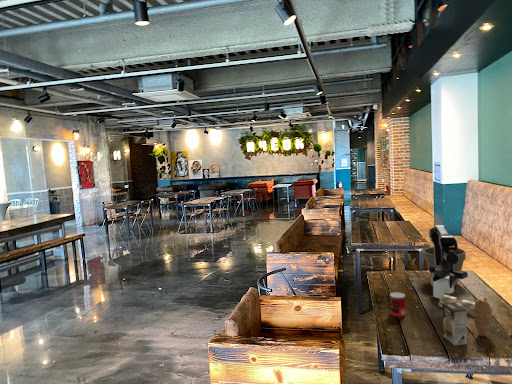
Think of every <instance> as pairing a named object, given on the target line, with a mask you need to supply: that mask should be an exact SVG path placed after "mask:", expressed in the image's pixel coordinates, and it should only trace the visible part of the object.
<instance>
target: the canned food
mask: <svg viewBox="0 0 512 384" xmlns="http://www.w3.org/2000/svg"><path fill="white" fill-rule="evenodd" d="M389 305H390V306H389V307H390V309H389V310H390V315H391V316H392V317H395V318H404V317H406V314H407V313H406V312H407V311H406V295H405V293H402V292H399V291H395V292H391V293H389Z"/></svg>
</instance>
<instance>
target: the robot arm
mask: <svg viewBox="0 0 512 384" xmlns="http://www.w3.org/2000/svg"><path fill="white" fill-rule="evenodd" d="M428 237H429V239H430V242H431V244H432V245H433V247H434V260H435V265H433V266H430V267H429V270H428V273H429V272H433V277H432V278H431V277H430V278H431V279H430V285H431V286H432V288H433V282H435V281H437V280H440V279H442V278H445V277H447V274H451V276H450V277H449V278H450V288H452V287H453V285H454V283H455V281H456V279H457V278H458V279H459V280H463V279H466V278H468V277H469V275H468V274H469V273H468V272H467V271H465V270H460V271H457V272H455V271H454V270H455V268H454V264H456V263H457V262H458V256H457V255H456V254H455V253H454V250H457V248H459V247H458V241H457V239H456V238H455V236H454V235H452V234H450V233H448V231H447V229H446V228H445V225H441V224H439V225H438V224H436V225H434V226H433V227H432V228H430V229H429V231H428ZM444 294H445V295H448V294H447V293H444ZM431 297H433V293H432V294H431Z"/></svg>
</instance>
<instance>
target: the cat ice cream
mask: <svg viewBox="0 0 512 384" xmlns="http://www.w3.org/2000/svg"><path fill="white" fill-rule="evenodd" d="M474 302H475V306H474V307H473V314H472V315H473V316H472V318H473V324H474V327H475V329H476V332H477V334H478V335H479V336H480V337H486V336H487V335H488V333H489V331H490V329H491V325H492V320H493V316H492V314H493V310H492V307H491V305H490V303H489V302H488V301H487V297H486V296H484V297H483V298H479V299H477V300H475V301H474Z"/></svg>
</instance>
